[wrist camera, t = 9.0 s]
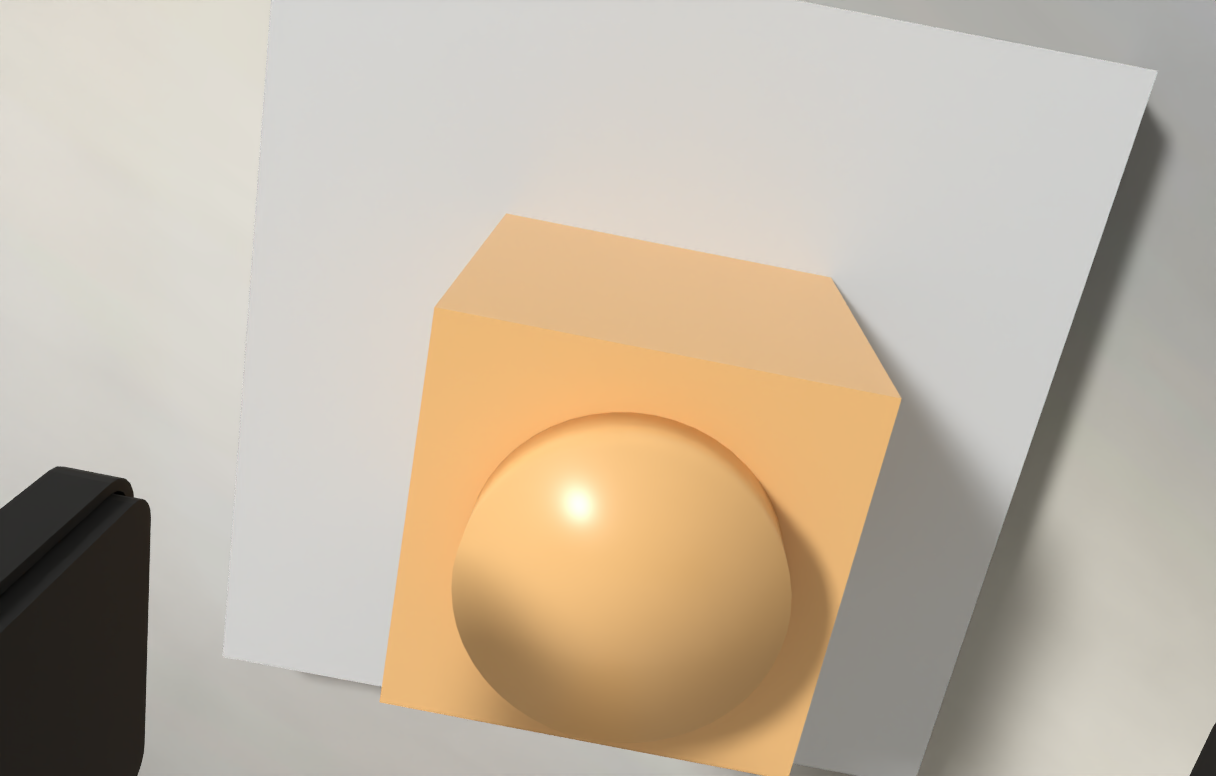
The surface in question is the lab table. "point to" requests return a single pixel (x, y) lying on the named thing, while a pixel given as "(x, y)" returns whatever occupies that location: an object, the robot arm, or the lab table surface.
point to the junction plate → (676, 216)
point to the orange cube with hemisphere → (634, 495)
